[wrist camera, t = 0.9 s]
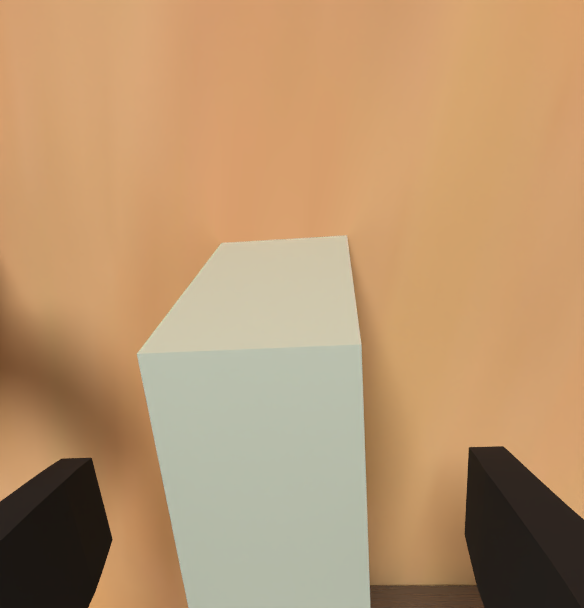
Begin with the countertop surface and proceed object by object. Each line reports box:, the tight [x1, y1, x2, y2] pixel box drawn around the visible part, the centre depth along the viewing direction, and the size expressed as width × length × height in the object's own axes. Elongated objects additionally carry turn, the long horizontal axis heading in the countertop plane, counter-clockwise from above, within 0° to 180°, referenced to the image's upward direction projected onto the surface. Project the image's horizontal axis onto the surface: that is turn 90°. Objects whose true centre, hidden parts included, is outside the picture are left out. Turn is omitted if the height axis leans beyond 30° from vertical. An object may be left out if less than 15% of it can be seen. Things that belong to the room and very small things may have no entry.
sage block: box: [137, 235, 370, 608], centre depth 11 cm, size 3×8×6 cm, turn 4°
